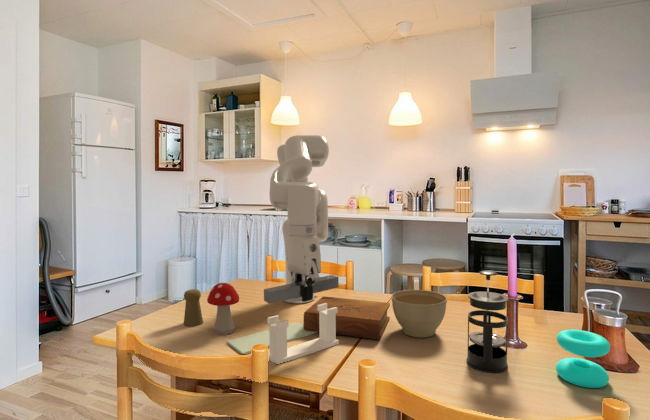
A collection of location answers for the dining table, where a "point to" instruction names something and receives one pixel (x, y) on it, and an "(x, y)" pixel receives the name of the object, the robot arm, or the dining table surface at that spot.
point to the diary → (351, 317)
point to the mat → (267, 338)
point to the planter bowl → (419, 311)
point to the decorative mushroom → (223, 306)
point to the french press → (487, 331)
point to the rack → (327, 339)
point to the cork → (192, 308)
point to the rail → (298, 289)
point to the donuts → (582, 369)
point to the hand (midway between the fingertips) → (303, 298)
